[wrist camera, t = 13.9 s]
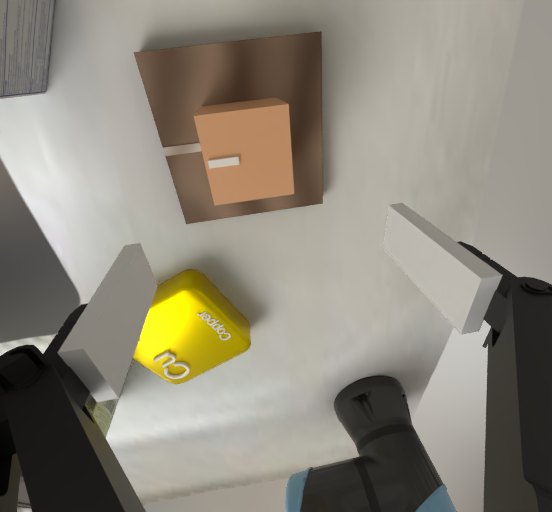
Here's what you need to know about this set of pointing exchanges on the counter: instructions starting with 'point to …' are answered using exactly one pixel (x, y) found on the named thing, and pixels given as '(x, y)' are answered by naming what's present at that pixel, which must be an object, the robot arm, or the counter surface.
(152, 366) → the element tile
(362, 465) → the robot arm
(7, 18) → the medicine box
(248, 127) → the orange cube
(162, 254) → the counter surface
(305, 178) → the board
